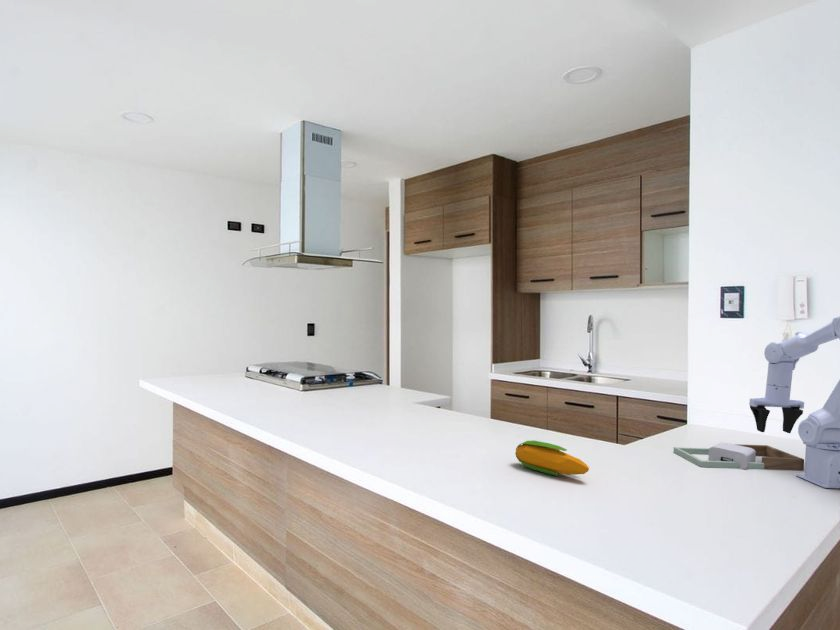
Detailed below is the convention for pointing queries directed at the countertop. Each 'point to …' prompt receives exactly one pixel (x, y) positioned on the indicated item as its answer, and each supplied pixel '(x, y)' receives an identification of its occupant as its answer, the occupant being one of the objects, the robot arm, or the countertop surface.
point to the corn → (549, 459)
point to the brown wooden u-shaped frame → (777, 458)
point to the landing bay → (716, 464)
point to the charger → (732, 454)
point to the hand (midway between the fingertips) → (773, 431)
